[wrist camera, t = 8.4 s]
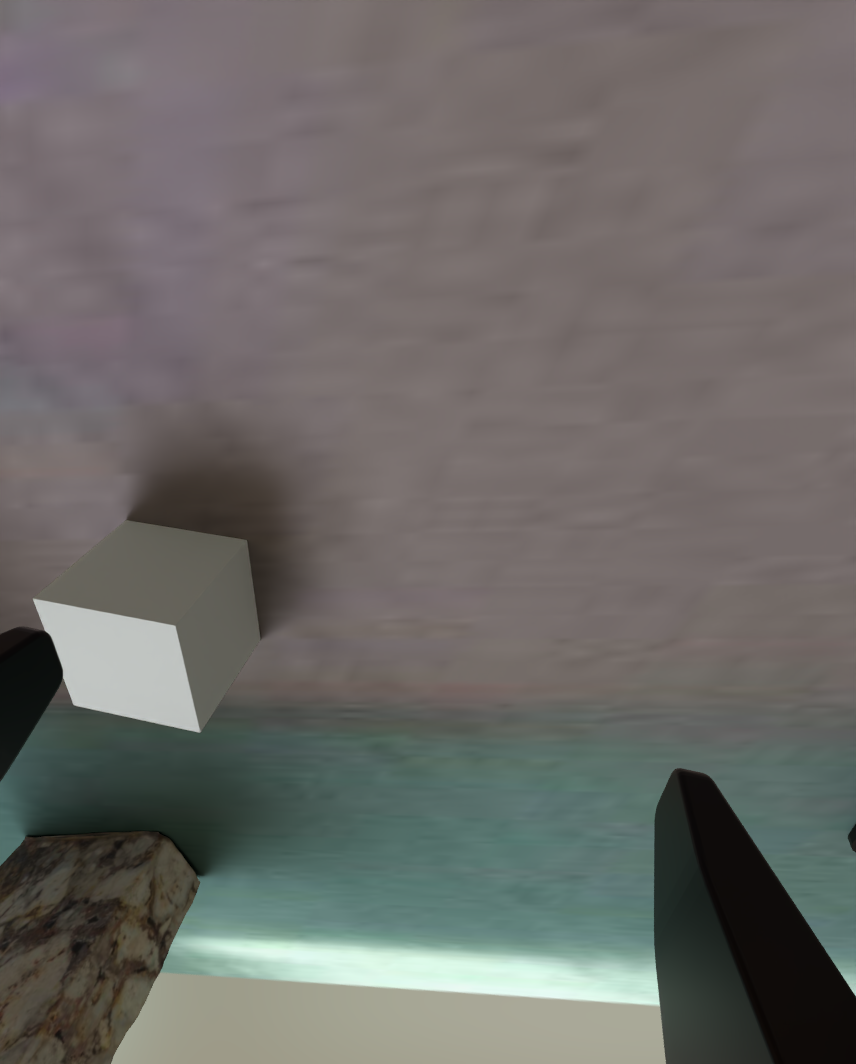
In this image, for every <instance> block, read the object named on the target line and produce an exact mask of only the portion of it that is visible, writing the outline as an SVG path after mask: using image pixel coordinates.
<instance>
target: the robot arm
mask: <svg viewBox="0 0 856 1064" xmlns="http://www.w3.org/2000/svg"><path fill="white" fill-rule="evenodd" d="M62 679H63V668H62V665H61V662H60V659H59V656H58V654H57V651H56V648H55V645H54V642H53V640H52V637H51V636H50V634H48V633H47V632H46V631H43V630H38V629H34V628H29V627H17V628H14V629H11V630H9V631H7V632H4V633H2V634H0V781H1V780H2V779H3V777H4V776H5V774H6V773H7V771H8V769H9V768H10V766H11V765H12V763H13V762H14V760H15V758H16V757H17V755H18V754H19V752H20V750H21V749H22V747H23V745H24V744H25V742H26V741H27V739H28V737H29V736H30V734H31V732H32V731H33V729H34V728H35V726H36V724H37V723H38V721H39V719H40V718H41V716H42V715H43V713H44V711H45V710H46V708H47V706H48V705H49V703H50V701H51V700H52V698H53V697H54V695H55V693H56V692H57V690H58V688H59V687H60V685H61V682H62ZM848 840H849V842H850V845H851V848H852V850H853V851H855V852H856V825H855V826H854V828H853V829H852V830H851V832H850V833H849V835H848ZM654 946H655V960H656V971H657V981H658V990H659V1000H660V1009H661V1019H662V1029H663V1039H664V1048H665V1057H666V1064H856V996H855V995H854V993H853V992H852V990H851V989H850V987H849V986H848V984H847V983H846V981H845V979H844V978H843V976H842V975H841V973H840V972H839V970H838V969H837V967H836V966H835V964H834V963H833V961H832V960H831V958H830V957H829V955H828V954H827V952H826V951H825V949H824V948H823V946H822V945H821V943H820V942H819V940H818V939H817V937H816V936H815V934H814V933H813V931H812V929H811V928H810V926H809V925H808V923H807V922H806V920H805V919H804V917H803V916H802V914H801V913H800V911H799V910H798V908H797V907H796V905H795V904H794V902H793V901H792V899H791V898H790V896H789V895H788V893H787V892H786V890H785V889H784V887H783V886H782V884H781V883H780V881H779V879H778V878H777V876H776V875H775V873H774V872H773V870H772V869H771V867H770V866H769V864H768V863H767V861H766V860H765V858H764V857H763V855H762V854H761V852H760V851H759V849H758V848H757V846H756V845H755V843H754V842H753V840H752V839H751V837H750V836H749V834H748V833H747V831H746V829H745V828H744V826H743V825H742V823H741V822H740V820H739V819H738V817H737V816H736V814H735V813H734V811H733V810H732V808H731V807H730V805H729V804H728V802H727V801H726V799H725V798H724V796H723V795H722V793H721V792H720V790H719V789H718V787H717V786H716V784H715V782H714V781H713V780H712V779H711V778H710V777H709V776H708V775H706V774H704V773H700V772H695V771H691V770H686V769H682V768H677V769H675V770H674V771H673V772H672V774H671V776H670V778H669V780H668V782H667V785H666V787H665V789H664V791H663V793H662V796H661V798H660V800H659V802H658V805H657V808H656V813H655V842H654Z"/></svg>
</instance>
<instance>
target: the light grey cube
mask: <svg viewBox="0 0 856 1064" xmlns="http://www.w3.org/2000/svg"><path fill="white" fill-rule="evenodd" d="M33 601H34V603H35V606H36V608H37V611H38V613H39V616H40V619H41V621H42V624H43V626H44V629H45V631H46V632H47V633H48V634H50V636H51V637H52V640H53V642H54V645H55V648H56V651H57V654H58V656H59V659H60V662H61V665H62V668H63V678H64V681H65V683H66V686H67V688H68V691H69V694H70V696H71V699H72V701H73V704H74V705H75V706H79V707H84V708H89V709H93V710H98V711H102V712H107V713H112V714H116V715H121V716H125V717H130V718H135V719H139V720H144V721H148V722H153V723H157V724H162V725H167V726H171V727H176V728H180V729H185V730H190V731H194V732H199V733H201V731H202V730H203V728H204V727H205V725H206V723H207V722H208V720H209V719H210V717H211V716H212V714H213V713H214V711H215V709H216V708H217V706H218V705H219V703H220V702H221V700H222V699H223V697H224V696H225V694H226V692H227V691H228V689H229V688H230V686H231V685H232V683H233V682H234V680H235V678H236V677H237V675H238V674H239V672H240V671H241V669H242V668H243V666H244V665H245V663H246V661H247V660H248V658H249V657H250V655H251V654H252V652H253V651H254V649H255V647H256V646H257V644H258V643H259V641H260V640H261V639H260V631H259V624H258V617H257V609H256V602H255V595H254V587H253V580H252V573H251V565H250V558H249V551H248V543H247V540H244V539H238V538H232V537H225V536H219V535H213V534H207V533H201V532H195V531H189V530H183V529H177V528H171V527H165V526H159V525H153V524H147V523H141V522H135V521H129V520H126V521H125V522H123V523H122V524H121V525H120V526H119V527H117V528H116V529H115V530H114V531H113V532H111V533H110V534H109V535H108V536H107V537H105V538H104V539H103V540H102V541H101V542H99V543H98V544H97V545H96V546H95V547H94V548H92V549H91V550H90V551H89V552H88V553H86V554H85V555H84V556H83V557H82V558H80V559H79V560H78V561H77V562H76V563H74V564H73V565H72V566H71V567H70V568H68V569H67V570H66V571H65V572H64V573H63V574H61V575H60V576H59V577H58V578H57V579H55V580H54V581H53V582H52V583H51V584H49V585H48V586H47V587H46V588H45V589H43V590H42V591H41V592H40V593H39V594H37V595H36V596H35V597H34V598H33Z"/></svg>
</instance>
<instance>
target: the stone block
mask: <svg viewBox="0 0 856 1064" xmlns="http://www.w3.org/2000/svg"><path fill="white" fill-rule="evenodd" d="M199 885H200V881H199V880H198V878H197V877H196V874H195V872H194V871H193V869H192V868H191V867H190V865H189V864H188V863H187V861H186V860H185V859H184V857H183V856H182V854H181V853H180V852H179V851H178V849H177V848H176V847H175V845H174V843H173V842H172V841H171V840H170V839H169V838H168V837H165V836H163V835H161V834H159V832H149V831H135V832H108V833H90V834H79V835H65V836H44V837H38V838H35V837H25V840H24V841H23V842H22V843H21V845H20V846H19V847H18V848H17V849H16V850H15V851H14V852H13V853H12V854H11V855H10V856H9V857H8V859H7V860H6V861H5V862H4V863H3V864H2V865H1V866H0V1064H111V1062H112V1059H113V1056H114V1054H115V1052H116V1050H117V1048H118V1047H119V1045H120V1043H121V1041H122V1040H123V1038H124V1036H125V1034H126V1032H127V1031H128V1029H129V1028H130V1027H131V1025H132V1024H133V1023H134V1022H135V1020H136V1018H137V1017H138V1015H139V1013H140V1011H141V1009H142V1007H143V1005H144V1003H145V1001H146V999H147V997H148V995H149V992H150V990H151V988H152V986H153V983H154V981H155V979H156V978H157V976H158V974H159V973H160V971H161V969H162V967H163V963H164V960H165V958H166V956H167V954H168V951H169V948H170V946H171V944H172V942H173V939H174V937H175V935H176V933H177V931H178V929H179V927H180V925H181V923H182V921H183V919H184V917H185V915H186V913H187V911H188V910H189V908H190V906H191V904H192V903H193V900H194V897H195V895H196V893H197V890H198V887H199Z"/></svg>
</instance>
